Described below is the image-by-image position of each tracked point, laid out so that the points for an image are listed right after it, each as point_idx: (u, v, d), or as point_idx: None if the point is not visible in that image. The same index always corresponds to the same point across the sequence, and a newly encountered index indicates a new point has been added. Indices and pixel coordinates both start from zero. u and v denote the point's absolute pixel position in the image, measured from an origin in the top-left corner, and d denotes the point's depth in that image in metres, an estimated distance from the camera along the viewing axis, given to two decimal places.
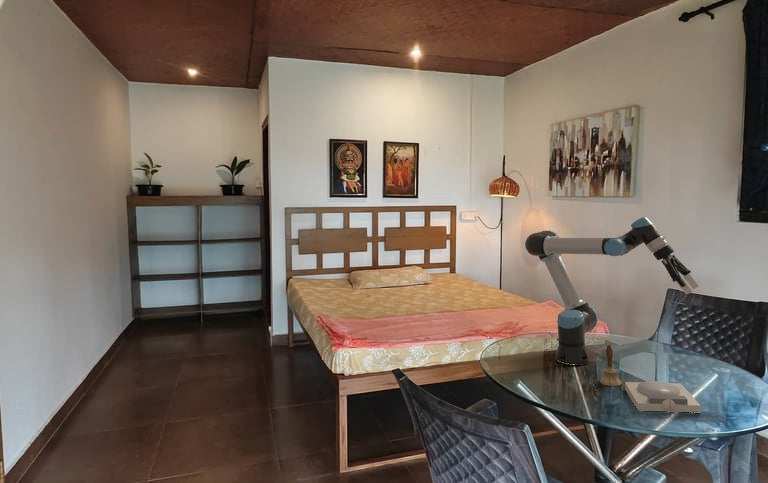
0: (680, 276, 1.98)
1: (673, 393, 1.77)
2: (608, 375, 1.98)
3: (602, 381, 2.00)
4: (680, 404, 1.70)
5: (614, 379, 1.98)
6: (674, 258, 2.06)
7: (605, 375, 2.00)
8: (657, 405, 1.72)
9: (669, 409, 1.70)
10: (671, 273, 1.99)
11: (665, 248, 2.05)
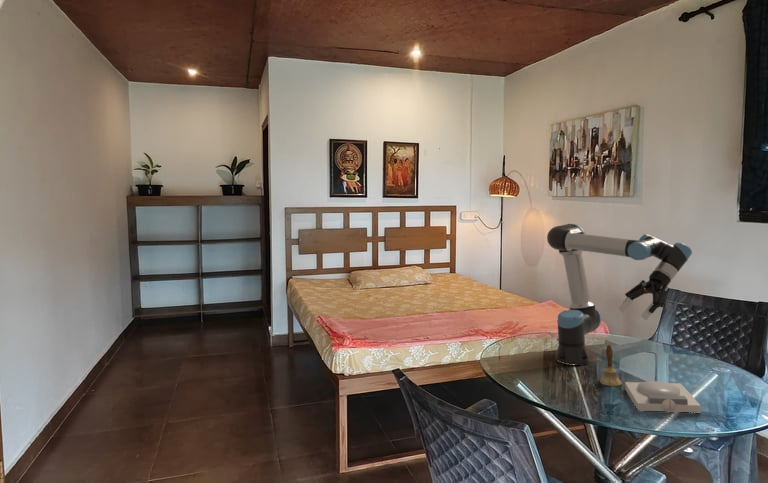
0: (658, 306, 1.93)
1: (673, 393, 1.77)
2: (608, 375, 1.98)
3: (602, 381, 2.00)
4: (680, 404, 1.70)
5: (614, 379, 1.98)
6: None
7: (605, 375, 2.00)
8: (657, 405, 1.72)
9: (669, 409, 1.70)
10: (662, 299, 1.91)
11: (670, 281, 1.99)
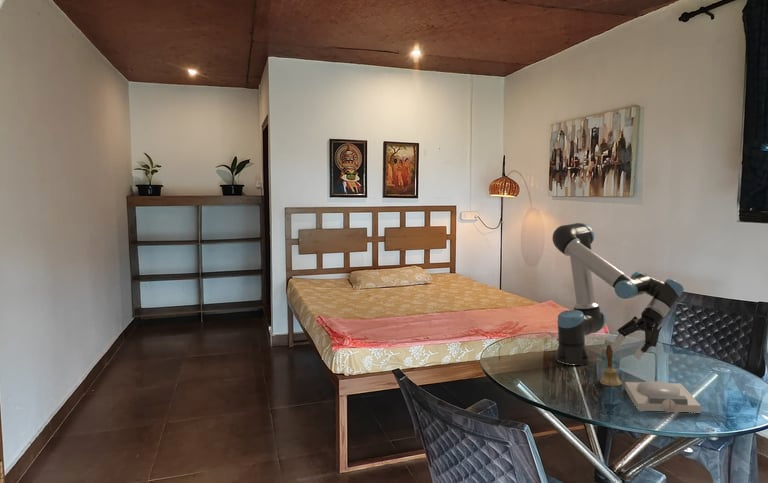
0: (650, 345, 1.92)
1: (673, 393, 1.77)
2: (608, 375, 1.98)
3: (602, 381, 2.00)
4: (680, 404, 1.70)
5: (614, 379, 1.98)
6: None
7: (605, 375, 2.00)
8: (657, 405, 1.72)
9: (669, 409, 1.70)
10: (654, 338, 1.91)
11: None
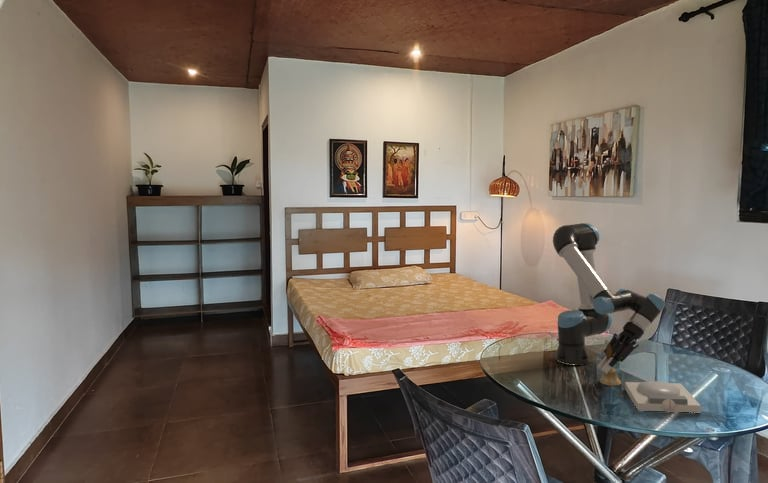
0: (618, 360, 1.97)
1: (673, 393, 1.77)
2: (608, 375, 1.99)
3: (602, 381, 2.00)
4: (680, 404, 1.70)
5: (614, 379, 1.98)
6: None
7: (605, 375, 2.00)
8: (657, 405, 1.72)
9: (669, 409, 1.70)
10: (624, 355, 1.95)
11: (643, 333, 1.98)
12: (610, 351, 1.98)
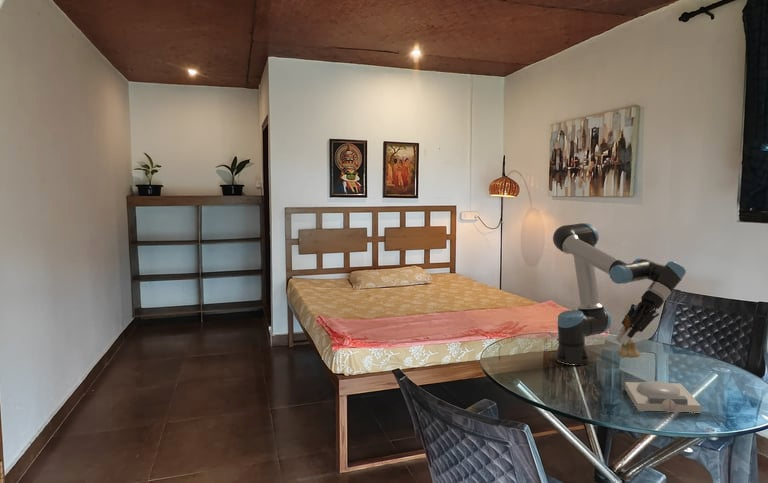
0: (637, 331, 1.88)
1: (673, 393, 1.77)
2: (626, 346, 1.89)
3: (620, 353, 1.91)
4: (680, 404, 1.70)
5: (633, 351, 1.89)
6: None
7: (623, 346, 1.91)
8: (657, 405, 1.72)
9: (669, 409, 1.70)
10: (643, 324, 1.86)
11: None
12: (628, 321, 1.89)
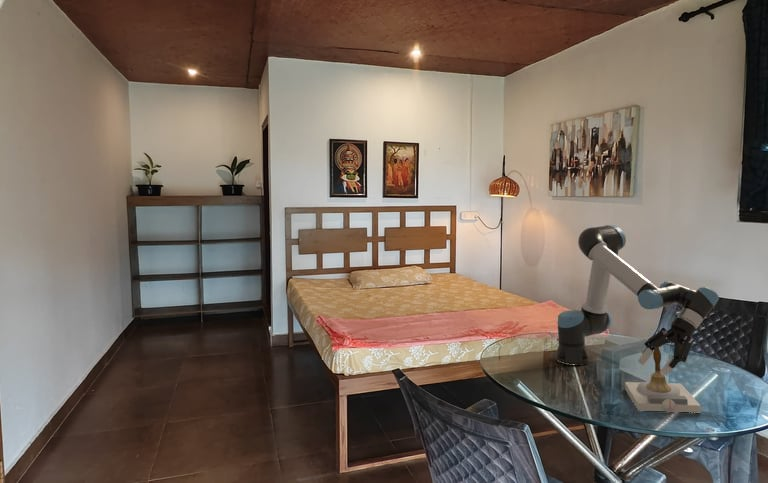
0: (679, 360, 1.75)
1: (673, 393, 1.77)
2: (656, 380, 1.80)
3: (649, 387, 1.82)
4: (680, 404, 1.70)
5: (663, 385, 1.79)
6: None
7: (652, 380, 1.81)
8: (657, 405, 1.72)
9: (669, 409, 1.70)
10: (684, 353, 1.73)
11: (694, 331, 1.80)
12: (658, 354, 1.80)
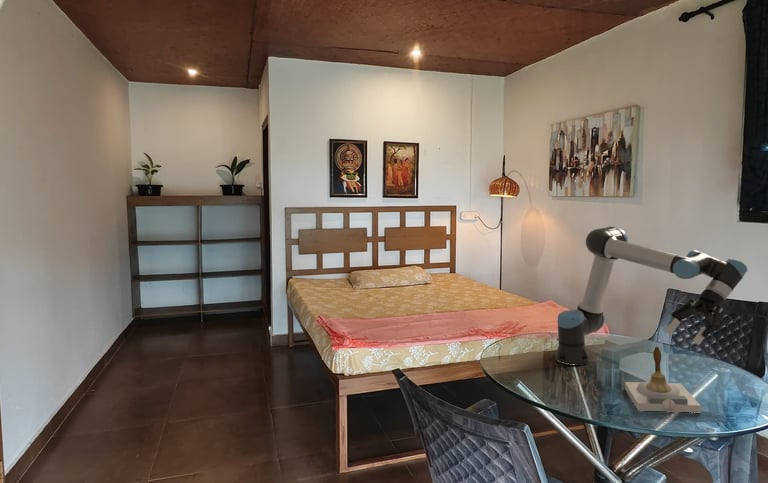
0: None
1: (673, 393, 1.77)
2: (656, 380, 1.80)
3: (649, 387, 1.82)
4: (680, 404, 1.70)
5: (663, 385, 1.79)
6: None
7: (652, 380, 1.81)
8: (657, 405, 1.72)
9: (669, 409, 1.70)
10: (717, 322, 1.74)
11: None
12: (658, 354, 1.80)
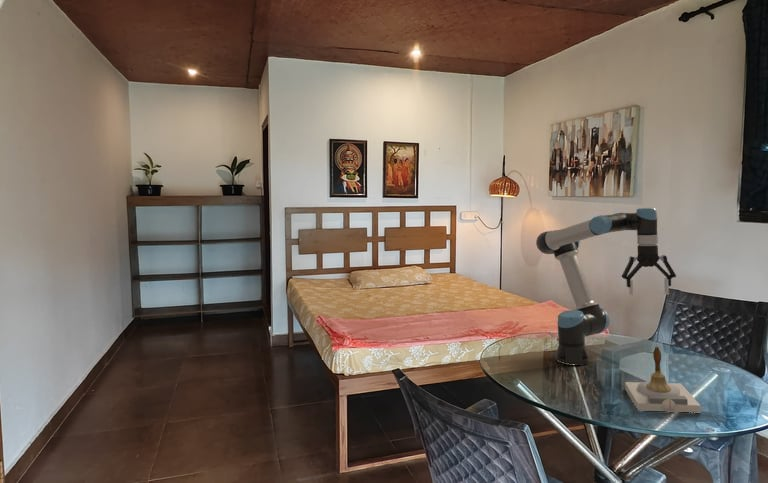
0: None
1: (673, 393, 1.77)
2: (656, 380, 1.80)
3: (649, 387, 1.82)
4: (680, 404, 1.70)
5: (663, 385, 1.79)
6: None
7: (652, 380, 1.81)
8: (657, 405, 1.72)
9: (669, 409, 1.70)
10: None
11: None
12: (658, 354, 1.80)
